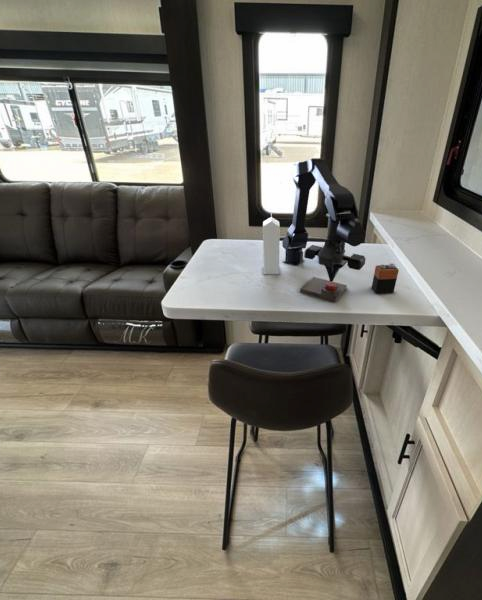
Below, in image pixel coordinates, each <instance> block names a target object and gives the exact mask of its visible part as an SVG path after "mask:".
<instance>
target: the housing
mask: <svg viewBox="0 0 482 600" xmlns="http://www.w3.org/2000/svg"><path fill="white" fill-rule="evenodd" d="M326 282H333V281H330V280H328V279H325V278H320V277H316V276H312V278H310V280H308V281H307V282H305V284H304V285H302V286H301V287H300V288H299V293H302V294H305V295H309V296H312V297H316V298H319V299H323V300H326V301H329V302H333V303H337V301H338V299H340V297H341V296H342V295H343V294H344V293H345V291H346V290H347V287H348V285H347V284H344V283H340V282H335V281H334V282H335V283H336V284H337V286H336V290H327V289H326V288H325V287H326Z"/></svg>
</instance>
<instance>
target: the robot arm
mask: <svg viewBox="0 0 482 600" xmlns="http://www.w3.org/2000/svg"><path fill="white" fill-rule="evenodd" d="M291 170H292V171H291V173H292V180H293V183H294V184H295V195H294V196H295V197H294V204H293V214H292V223H291V225H289V227H288V228H287V230H286V235H285V236H284V238H283V239H282V242H281V243H282V248H283V249H285V256H284V258H285V259H284V260H283V263H284V264H289V265H293V266H298V265H300V264H301V263H303V262H304V259H309V260H314V259H315V258H316V257H317V256H318V258H317V260H318V264H319V265H320V266H324V267H325V269H326V272H327V276H328V278H329V280H328V281H332V282H334V280H335V278H336V276H337V274H338V273H339V270H340V269H342V268H344V266H345V265H346V266H347V267H348V269H352V270H356V271H360V270H361V269H362V268H363V267H364V266H365V264H366V260H367V258H366V257H365V255H362V254H358V253H353V254H351V256H348V255H345V253H346V244H347V245H349V246H351V247H359V246H360V245H361V244H362V243H363V242H364V240H365V238H366V230H365V228H364V227H363V226H361V225H362V221H360V220H359V219H360V217H359V216H360V215H359V212H360V211H359V209H358V207H357V204H356V199H355V196H354V194H353V193H352V192H351V190H349V188H347V187H345V186H342V185H341V184H340V182H338V181H337V179H336V177H335V176H334V175H333V173H332V171H331V170H330V168H329V167H328V165H327V162H326V160H325V158H322V157H315V158H314V157H312V158H309V159H308V160H304V161H297V162H295V163H294V164H293V166H292V169H291ZM316 182H317V184H318V186H319V188H320V189H321V191H322V192H323V194H324V197H325V198H324V204H325V206H326V209H327V212H328V213H326V214H325V217H326V218H327V219H328V224H327V234H326V238H325V241H324V244H325V245H324V244H323V246H324V247H323V248H322V247H321V245H320V246H319V245H315V244H312V245H311V244H310V246H308V247H307V244H308V241H309V233H308V232H307V230H306V227H305V226H306V218H307V213H308V212H307V211H308V204H309V197H310V192H311V189H312V188H313V186H314V185H315V184H316ZM306 247H307V248H306ZM303 249H304V251H303Z"/></svg>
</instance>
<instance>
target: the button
mask: <svg viewBox="0 0 482 600" xmlns="http://www.w3.org/2000/svg"><path fill="white" fill-rule="evenodd" d="M336 283H337V282H336ZM336 283H335V281H332V282H326V287H325V288H326V289H327V290H336V286H337V284H336Z"/></svg>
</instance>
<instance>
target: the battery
mask: <svg viewBox="0 0 482 600" xmlns="http://www.w3.org/2000/svg"><path fill="white" fill-rule="evenodd" d="M399 271H400V270H399V268H398V267H397V266H396V264H395V263H389V264H379V265H375V267H374V273H373V278H372V283H371V289H372V291H373V292H374V293H375V294H376V295H377V294H392V293H394V292H395V288H396V285H397V279H398V275H399Z"/></svg>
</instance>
